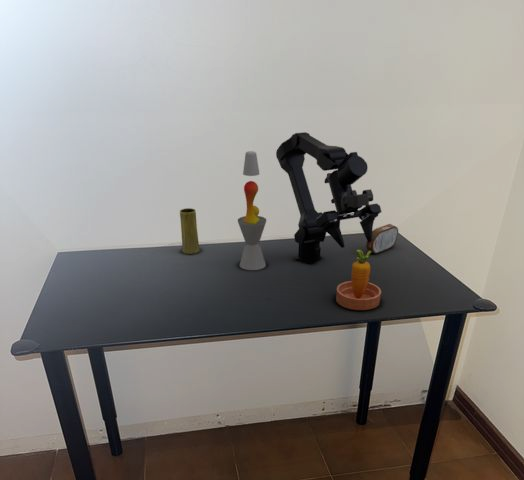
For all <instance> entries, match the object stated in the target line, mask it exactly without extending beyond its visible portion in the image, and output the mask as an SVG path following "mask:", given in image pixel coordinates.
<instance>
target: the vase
mask: <svg viewBox="0 0 524 480" xmlns="http://www.w3.org/2000/svg"><path fill="white" fill-rule="evenodd" d="M179 218H180V232H181V233H180V234H181V247H182V248H181V252H182V253H183V254H186V255H195V254H198V253H200V251H201V248H200V244H199V234H198V223H197V212H196V209H194V208H192V207H188V208H182V209H180V210H179Z"/></svg>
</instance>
